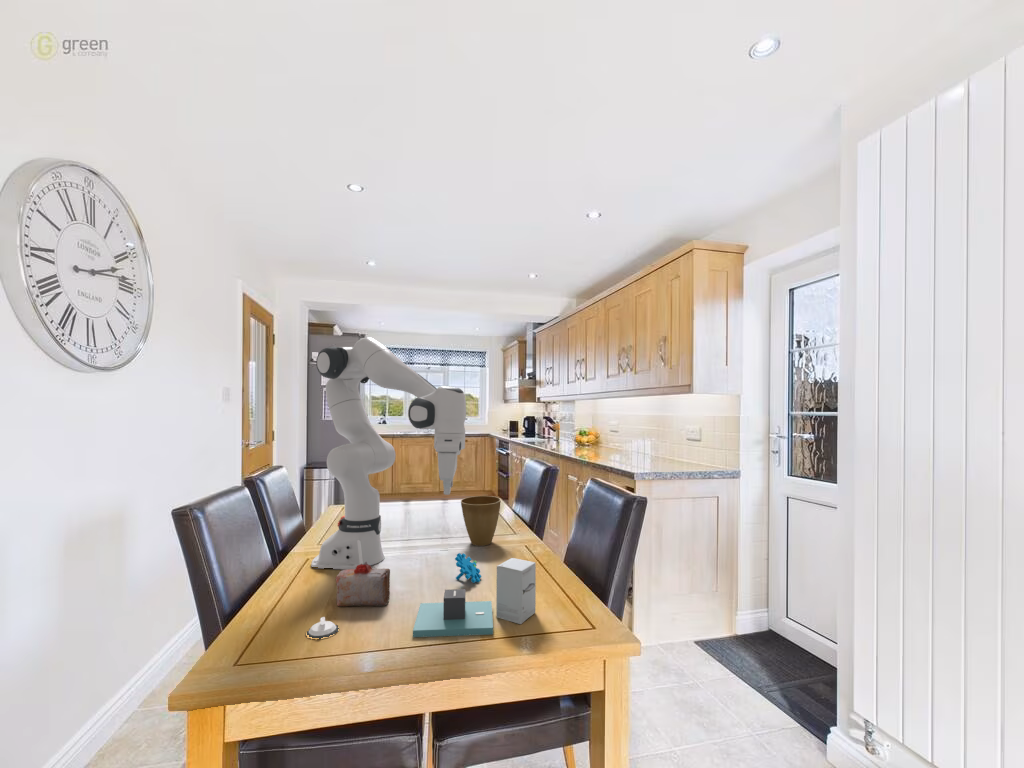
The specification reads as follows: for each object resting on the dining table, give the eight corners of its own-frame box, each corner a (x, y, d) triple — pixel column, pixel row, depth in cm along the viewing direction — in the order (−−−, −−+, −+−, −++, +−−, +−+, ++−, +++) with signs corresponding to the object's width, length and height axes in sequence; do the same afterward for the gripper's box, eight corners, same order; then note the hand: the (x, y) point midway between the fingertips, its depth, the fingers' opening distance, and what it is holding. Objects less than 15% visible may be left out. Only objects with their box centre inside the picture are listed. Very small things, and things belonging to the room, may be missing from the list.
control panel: (412, 637, 104) (412, 616, 104) (420, 609, 118) (420, 591, 118) (493, 634, 105) (493, 614, 106) (491, 606, 119) (491, 589, 119)
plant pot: (478, 534, 183) (478, 494, 183) (508, 541, 174) (508, 498, 175) (452, 544, 171) (452, 500, 171) (483, 552, 162) (483, 506, 163)
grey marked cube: (443, 619, 109) (443, 597, 109) (445, 610, 114) (445, 589, 114) (464, 619, 109) (464, 597, 110) (465, 609, 114) (465, 588, 115)
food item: (331, 609, 118) (331, 570, 118) (341, 596, 126) (342, 559, 126) (385, 608, 119) (385, 569, 119) (392, 595, 127) (392, 559, 127)
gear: (474, 583, 130) (453, 554, 134) (459, 597, 131) (439, 568, 135) (488, 575, 141) (468, 548, 144) (475, 587, 141) (455, 561, 145)
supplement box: (521, 625, 110) (521, 571, 110) (495, 617, 114) (495, 565, 114) (536, 613, 116) (536, 561, 116) (511, 606, 120) (511, 556, 120)
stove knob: (304, 644, 102) (304, 631, 102) (305, 629, 109) (305, 616, 109) (340, 638, 105) (340, 624, 105) (339, 623, 111) (339, 611, 111)
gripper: (441, 438, 144) (440, 483, 144) (435, 446, 124) (433, 498, 123) (462, 439, 144) (461, 483, 144) (458, 446, 124) (457, 498, 124)
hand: (448, 490), depth 133 cm, fingers open, 8 cm apart
